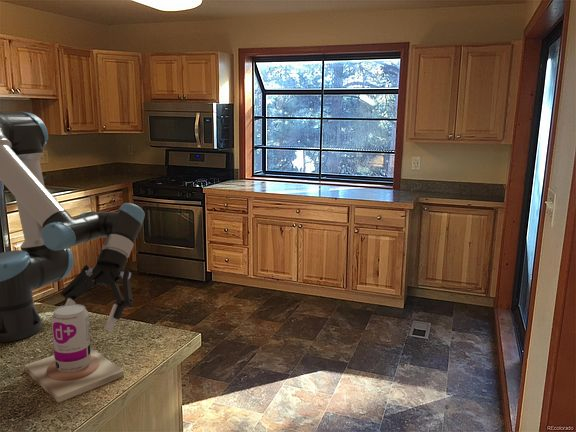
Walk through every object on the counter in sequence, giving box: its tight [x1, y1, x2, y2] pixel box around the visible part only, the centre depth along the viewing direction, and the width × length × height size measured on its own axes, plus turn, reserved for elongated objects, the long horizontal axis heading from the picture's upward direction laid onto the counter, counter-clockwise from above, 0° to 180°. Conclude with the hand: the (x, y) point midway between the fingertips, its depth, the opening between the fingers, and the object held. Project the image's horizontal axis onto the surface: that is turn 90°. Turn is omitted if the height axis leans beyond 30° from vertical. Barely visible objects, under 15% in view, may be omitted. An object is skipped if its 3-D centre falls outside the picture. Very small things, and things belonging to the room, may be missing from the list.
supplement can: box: [51, 303, 91, 373], centre depth 119 cm, size 8×8×15 cm
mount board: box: [24, 346, 125, 404], centre depth 120 cm, size 20×16×2 cm
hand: (84, 327), depth 123 cm, fingers open, 13 cm apart
